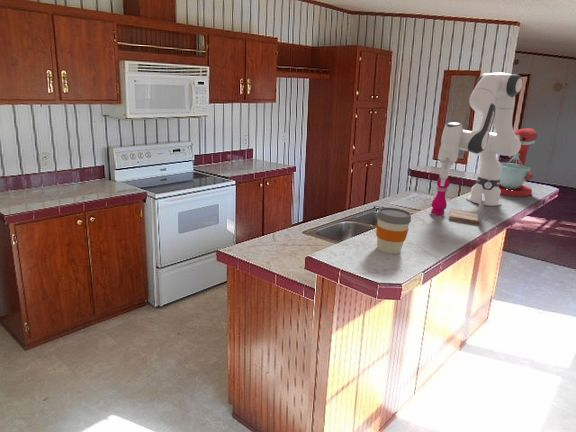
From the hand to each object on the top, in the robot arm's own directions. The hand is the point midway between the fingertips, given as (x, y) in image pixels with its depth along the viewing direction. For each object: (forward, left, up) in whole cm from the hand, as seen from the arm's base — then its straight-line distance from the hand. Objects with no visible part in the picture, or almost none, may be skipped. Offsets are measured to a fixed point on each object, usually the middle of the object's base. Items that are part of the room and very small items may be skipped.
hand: (442, 184), depth 229 cm
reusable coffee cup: (+65, -14, -15) cm, 68 cm away
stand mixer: (-86, +40, -15) cm, 96 cm away
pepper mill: (0, 0, -15) cm, 15 cm away
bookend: (0, +13, -15) cm, 20 cm away
